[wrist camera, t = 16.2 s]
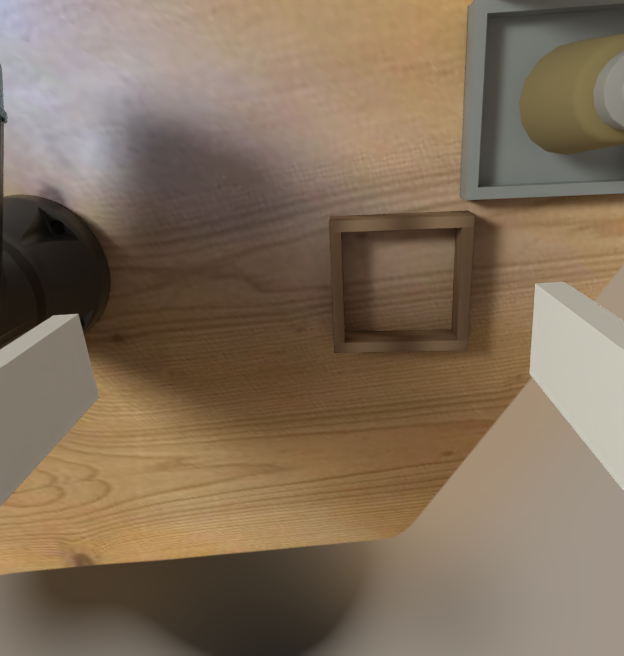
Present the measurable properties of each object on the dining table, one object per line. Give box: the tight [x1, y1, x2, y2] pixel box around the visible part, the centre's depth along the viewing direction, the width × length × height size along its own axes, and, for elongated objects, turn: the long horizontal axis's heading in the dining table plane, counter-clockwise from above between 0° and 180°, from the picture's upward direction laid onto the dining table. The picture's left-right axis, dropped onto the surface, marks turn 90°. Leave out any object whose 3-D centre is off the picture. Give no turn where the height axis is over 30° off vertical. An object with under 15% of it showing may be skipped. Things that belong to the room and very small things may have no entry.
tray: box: [460, 0, 624, 200], centre depth 43 cm, size 15×15×2 cm
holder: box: [329, 211, 475, 353], centre depth 49 cm, size 12×12×3 cm
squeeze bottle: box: [519, 34, 624, 155], centre depth 35 cm, size 8×8×18 cm
